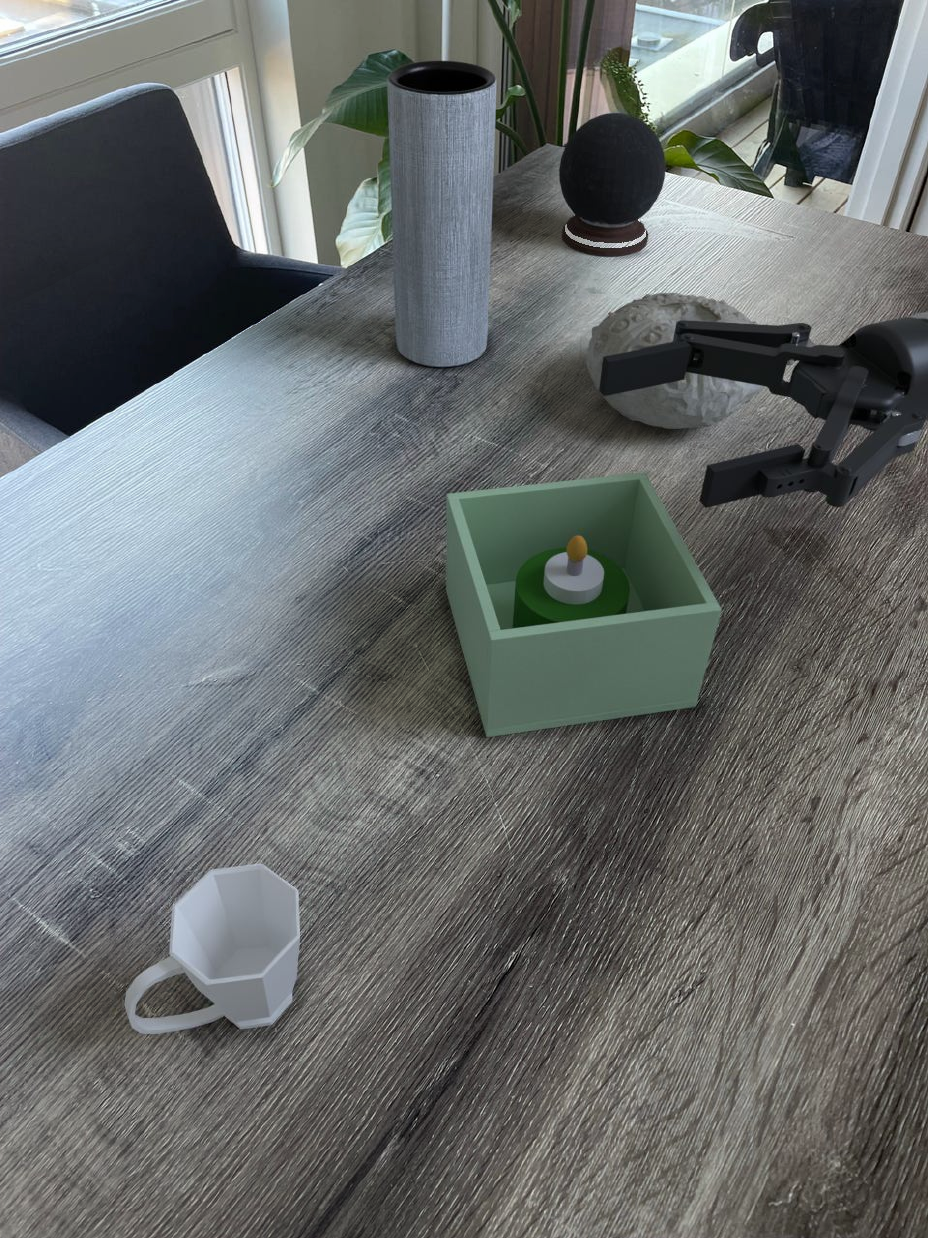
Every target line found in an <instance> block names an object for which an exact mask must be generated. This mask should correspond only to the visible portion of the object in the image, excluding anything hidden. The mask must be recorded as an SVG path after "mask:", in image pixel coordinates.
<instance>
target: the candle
mask: <svg viewBox="0 0 928 1238" xmlns="http://www.w3.org/2000/svg"><path fill="white" fill-rule="evenodd" d="M629 592H630V586H629V581H628V579H627V577H626V575H625V573H624V572H623V571H622V569H621V568H620V567H619V566H618V565H617V564H615V563H614V562H613V561H612V560H610V559H608V558H606V557H605V556H603V555H600V554H598V553H596V552H592V551H589V550H587V544H586V542H585V540H584V538H583V537H581V536H579V535H576V536H574V537H573V538H572V539H571V540H570V541H569V543H568V545H567V548H557V549H551V550H547V551H543V552H541V553H539V554H536V555H534V556H533V557H531V558H530V559H528V560H527V561H526V562H525V563H524V564H523V565H522V566H521V568H520V570H519V571H518V573H517V577H516V585H515V600H514V615H513V628H521V627H529V626H536V625H544V624H551V623H559V622H567V621H574V620H582V619H590V618H597V617H605V616H613V615H620V614H626V611H627V605H628V599H629Z"/></svg>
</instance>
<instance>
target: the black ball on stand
mask: <svg viewBox="0 0 928 1238" xmlns="http://www.w3.org/2000/svg"><path fill="white" fill-rule="evenodd" d="M666 166H667V164H666V156H665V152H664V148H663V146H662V143H661V141H660V139H659V137H658V136H657V134H656V132H655V131H654V130H653V129H652V128H651V127H650V126H649V125H648V124H647V123H646V122H645V121H644V120H642V119H640V118H638V117H636V116H634V115H631V114H628V113H623V112H608V113H603V114H600V115H597V116H595V117H592V118H589V120H587V121H586V122H584V123H583V124H582V125H580V127H578V128H577V129H576V131H575V132H573V134H572V135H571V136H570V138H569V140H568V141H567V143H566V144H565V146H564V149H563V152H562V154H561V157H560V163H559V169H558V174H559V175H558V177H559V179H558V180H559V185H560V189H561V194H562V197H563V199H564V201H565V203H566V205H567V206H568V208H569V209H570V210H571V211H572V213H573V214H574V215H575V216H574V215H572V216H573V217H572V216H571V217H572V218H571V217H570V218H569V219H568V220H567V221H566V223H565V224H564V225H563V226H562V229H561V239H562V241H563V243H564V244H565V245H566V246H567V247H568V248H571V249H572V250H574V251H576V252H579V253H581V254H584V255H588V256H589V255H590V256H596V257H606V258H615V257H625V256H630V255H633V254H636V253H638V252H640V251H642V250H643V249H645V248H646V247H647V245H648V240H649V232H648V230H647V228H646V227H645V224H644V222H642V221H641V222H642V223H641V222H639V221H638V219H639V220H640V219H641V218H642V217H643V216H645V215H646V214H647V213H649V211H650V210H651V208H653V206H654V204H655V203H656V202H657V200H658V198H659V196H660V195H661V192H662V190H663V186H664V183H665V178H666ZM566 224H567V228H568V230H569V231H570V232H571V233H572V234H573V235H575V236H578V237H581V238H583V239H587V240H590V241H593V242H604V243H622V242H623V243H624V242H629V241H633V240H635V239H637V238H639V237H641V236H642V235H643V234H644V232H645V230H646V237H645V238H644V239H643V240H642V241H641V242H639V243H637V244H635V245H632V246H628V247H622V248H600V247H593V246H589V245H585V244H582V243H579V242H577V241H575V240H573V239H571V238H570V237H569V236H568V235H567V234H566V232H565V225H566Z"/></svg>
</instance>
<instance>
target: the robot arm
mask: <svg viewBox="0 0 928 1238" xmlns="http://www.w3.org/2000/svg"><path fill="white" fill-rule="evenodd" d="M811 332H812V326H811V325H810V324H808V323H805V322H796V323H787V324H779V325H775V324H758V323H757V324H742V323H724V322H706V321H688V320H680V321H678V322H676V327H675V332H674V338H673V342H669V343H664V344H659V345H656V346H655V345H653V346H651V347H650V346H648V347H643V348H641V349H639V350H635V351H630V352H625V353H620V354H614V355H609V356H604V357H603V363H602V371H601V379H600V387H599V391H600V392H599V391H598V392H599V394H600V393H601V394H602V395H603V396H608V395H613V394H617V393H622V392H627V391H632V390H637V389H642V388H646V387H651V386H656V385H661V384H666V383H671V382H676V381H680V380H684V379H685V373H686V372H689V373H694V374H700V375H705V376H711V377H716V378H722V379H727V380H733V381H738V382H744V383H749V384H755V385H760V386H763V387H766V388H768V390H769V393H771V394H772V395H776V396H780V397H785V398H790V399H791V400H793V402H795V403H796V404H799V405H801V406H802V407H803V408H804V409H805V410H806V412H807V413H808V414H809V416H811V417H812V418H813V419H821V420H824V423H823V425H822V427H821V429H820V431H819V433H818V435H817V436H816V439H815V441H812V444H811V447H810V450H809V453H808V457H805V454H806V449H805V448H804V447H803V446H802V445H800V444H799V443H795V444H791V445H787V446H782V447H779V448H773V449H770V450H767V451H766V450H765V451H762V452H757V453H753V454H749V455H745V456H740V457H736V458H732V459H726V460H723V461H718V462H715V463H710V464H707V465H706V469H705V474H704V477H703V482H702V486H701V491H700V496H699V500H698V501H699V503H700V504H701V505H702V507H704V508H705V509H708V508H712V507H716V506H720V505H724V504H728V503H732V502H736V501H740V500H745V499H748V498H752V497H756V496H761V497H762V498H775V497H776V498H777V497H779V496H783V495H787V494H791V493H795V492H796V493H797V492H799V491H804V492H806V493H811V494H813V493H817V492H819V493H821V494H822V495H824V496H825V503H827V505H829V506H830V507H834V508H842V507H845V506H846V505H847V504H848V503H849V502H850V500H852V499H853V498H854V497H855V496H856V495H857V494H858V493H859V492H860V491H861V490H862V489H863V488H864V487H865V486H866V485H867V484H868V483H869V482H871V481H872V480H873V478H875V477H876V476H877V475H878V474H879V472H881V471H882V470H883V469H884V468H885V467H886V466H887V465H888V464H889V463H890V462H891V461H892V460H893V459H895V458H898V457H900V456H904V455H906V454H909V453H912V452H913V451H914V450H915V448H916V445H917V443H918V441H919V439H920V436H921V433H922V431H923V428H924V426H925V423H926V422H928V311H926V312H919V313H915V314H912V315H910V316H906V317H905V316H904V317H899V318H894V319H893V318H892V319H889V320H884V321H878V322H873V323H869V324H866V325H864V326H862V327H860V328H858V329H857V330H856V331H854V332H853V333H851V335H849V336H848V337H847V338H846V339H845V340H843V342H841V343H840V344H833V345H831V344H830V345H828V344H816V343H814V342H813V341H812V340H811V339H810V335H811ZM793 362H797V363H796V364H795V365H794V367H793V369H792V370H791V374H790V378H789V381H786V380H785V379H784V375H785V373H786V369H787V366H791V365H793V364H794V363H793ZM601 394H600V395H601ZM602 395H601V396H602ZM603 396H602V397H603ZM852 425H853V426H859V427H861V428H862V429H865V430H867V431H870V432H872V433H871V434H870V435H869V436H868V437H866V438H865V439H864V440H863V441H862V442H861V443H860V444H859V445H858V446H856V448H854V449H853V450H852V451H851V452H850V453H849V454H848V455H847V456H846V457H845V458H843V459H842V460H841V461H840V462H839V463H838V464H837V465H836V464H835V463H833V461H834V459H835V457H836V455H837V452H838V450H839V448H840V446H841V445H842V444H843V442H844V439H845V437H846V435H847V433H848V431H849V429H850V428H851V426H852ZM804 457H805V458H804Z"/></svg>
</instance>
